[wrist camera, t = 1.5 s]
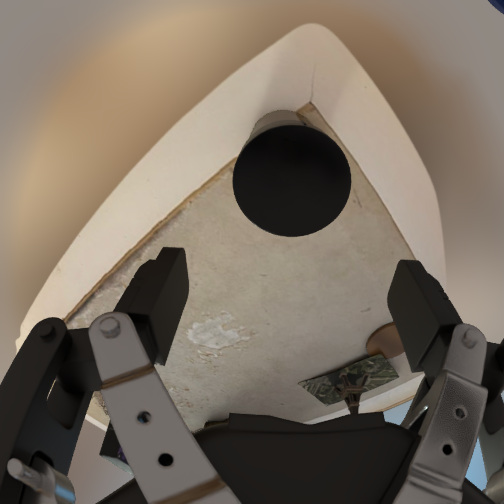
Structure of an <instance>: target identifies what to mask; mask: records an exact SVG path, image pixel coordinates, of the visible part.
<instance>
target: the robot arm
mask: <svg viewBox="0 0 504 504" xmlns="http://www.w3.org/2000/svg"><path fill="white" fill-rule="evenodd" d="M503 1H504V0H503ZM188 294H189V279H188V271H187V263H186V254H185V250H184V248H177V247H163V248H162V250H161V251H160V253H159V255H158V256H157V258H156V260H151V259H149V260H148V261H147V262H145V263H144V264H143V265H141V266H140V267H139V269H138V270H137V272H136V273H135V275H134V278H132V280H131V282H130V283H129V286H128V287H127V288H126V290H125V292H124V293H123V295H122V297H121V298H120V300H119V302H118V303H117V305H116V307H115V309H114V310H113V312H108V313H104V314H102V315H100V316H98V317H97V318H96V319H95V320H94V321H93V322H92V323H91V325H90V327H89V328H80V329H69V330H68V329H67V327H66V325H65V323H64V321H63V320H61V319H60V318H56V317H50V318H46V319H44V320H42V321H40V322H38V323H37V324H36V325H35V326H34V327H33V329H32V330H31V332H30V333H29V335H28V337H27V338H26V340H25V341H24V343H23V345H22V346H21V348H20V350H19V352H18V353H17V355H16V357H15V359H14V360H13V362H12V364H11V366H10V368H9V370H8V372H7V373H6V375H5V377H4V379H3V381H2V383H1V385H0V504H75V501H76V498H75V492H74V487H73V485H72V483H71V481H70V480H69V478H68V477H67V475H68V471H69V468H70V464H71V460H72V457H73V453H74V450H75V447H76V443H77V440H78V436H79V434H80V431H81V427H82V424H83V421H84V418H85V415H86V412H87V410H88V407H89V404H90V401H91V398H92V395H93V393H94V391H101V394H102V397H103V400H104V403H105V406H106V409H107V412H108V414H109V417H110V420H111V423H112V425H113V428H114V431H115V433H116V436H117V438H118V441H119V443H120V445H121V448H122V450H123V453H124V455H125V457H126V459H127V462H128V464H129V466H130V468H131V470H132V472H133V474H134V478H133V479H132V480H130V481H129V482H127V483H126V484H125V485H123V486H122V487H120V488H119V489H117V490H116V491H114V492H113V493H111V494H110V495H108V496H107V497H105V498H104V499H103V500H101V501H99V502H98V503H96V504H504V403H503V400H502V397H501V393H502V391H503V390H504V339H503V340H502V342H501V343H500V344H496V343H491V342H487V341H486V338H485V336H484V335H483V333H482V332H481V331H480V330H479V329H478V328H476V327H475V326H472V325H470V324H465V323H463V322H462V320H461V318H460V316H459V315H458V313H457V311H456V309H455V308H454V306H453V304H452V303H451V301H450V300H449V298H448V296H447V294H446V293H445V292H444V290H443V288H442V286H441V285H440V283H439V282H438V281H437V280H436V279H435V278H434V277H433V276H431V275H430V274H429V273H427V271H426V270H425V268H424V267H423V265H422V264H421V262H420V261H418V260H400V261H399V262H398V265H397V268H396V271H395V274H394V277H393V280H392V283H391V286H390V289H389V292H388V297H387V303H388V308H389V310H390V313H391V316H392V318H393V321H394V323H395V326H396V328H397V331H398V334H399V337H400V339H401V342H402V345H403V348H404V350H405V353H406V356H407V359H408V362H409V365H410V368H411V371H412V373H414V372H423V371H424V373H425V376H424V378H423V379H422V381H421V383H420V385H419V388H418V390H417V392H416V395H415V397H414V399H413V402H412V404H411V406H410V408H409V410H408V412H407V414H406V417H405V418H404V420H403V421H402V423H401V424H400V425H397V424H394V423H390V422H385V419H384V414H383V411H381V412H372V413H360V414H348V415H345V416H341V417H338V418H335V419H331V420H327V421H324V422H320V423H316V424H303V423H299V422H294V421H290V420H286V419H282V418H278V417H274V416H270V415H253V414H239V413H229V420H228V423H221V424H217V425H213V426H209V427H207V428H204V429H201V430H199V431H197V432H195V433H193V434H192V433H191V432H190V430H189V428H188V427H187V425H186V423H185V422H184V420H183V418H182V417H181V415H180V413H179V411H178V410H177V408H176V406H175V404H174V402H173V401H172V399H171V397H170V395H169V393H168V391H167V390H166V388H165V386H164V384H163V382H162V380H161V378H160V376H159V374H158V372H157V370H156V369H155V367H154V364H156V365H163V366H165V363H166V360H167V357H168V354H169V351H170V348H171V345H172V342H173V339H174V336H175V333H176V330H177V327H178V324H179V321H180V319H181V316H182V313H183V310H184V307H185V304H186V301H187V298H188ZM54 380H56V381H55V383H54ZM53 383H54V385H53ZM52 385H53V388H52V390H51V392H50V389H51V387H52ZM49 392H50V395H49V397H48V399H47V396H48V394H49ZM477 438H479V442H480V446H481V451H482V456H483V460H484V465H485V471H486V476H487V481H488V482H487V485H486V488H485V489H484V490H482V491H481V490H480V489H478V488H477V487H476V486H475V485H474V484H472V483H471V482H470V481H469V480H468V479H467V478H465V475H466V472H467V469H468V467H469V464H470V461H471V458H472V455H473V452H474V448H475V445H476V442H477Z"/></svg>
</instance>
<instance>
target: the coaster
mask: <svg viewBox="0 0 504 504" xmlns="http://www.w3.org/2000/svg"><path fill="white" fill-rule="evenodd" d="M366 348H367V352H368V354H369V355H370V356H371V357H373V356H376V355H379V354H382V356H383V357H384V358H385V359H389V358H393V357H396V356H398V355H400V354H402V353H403V352H405V350H404V348H403V345H402V342H401V339H400V337H399V334H398V331H397V328H396V326H395V323H394V322H392V323H389V324H386V325H384V326H382V327H380V328H379V329H377V330H376V331H375V332H374V333H373V334H372V335H371V336H370V337H369V339H368V341H367V345H366Z"/></svg>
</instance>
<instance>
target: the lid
mask: <svg viewBox="0 0 504 504" xmlns="http://www.w3.org/2000/svg"><path fill="white" fill-rule="evenodd" d="M233 190H234V195H235V198H236V201H237V203H238V205H239V207H240V209H241V210H242V212H243V213H244V215H245V216H246V217H247V218H248V219H249V220H250V221H251V222H252V223H253V224H255V225H256V226H258V227H259V228H261V229H263V230H265V231H267V232H269V233H272V234H275V235H279V236H286V237H297V236H304V235H309V234H312V233H315V232H317V231H319V230H321V229H323V228H324V227H326V226H328V225H329V224H330V223H331V222H333V221H334V220H335V219H336V218H337V217H338V215H339V214H340V213H341V211H342V210H343V208H344V207H345V205H346V203H347V200H348V198H349V194H350V190H351V172H350V167H349V164H348V161H347V159H346V156H345V154H344V153H343V151H342V150H341V148H340V147H339V146H338V145H337V144H336V142H335V141H334V140H332V139H331V138H330V137H329V136H328V135H327V134H326V133H324V132H323V131H322V130H321V129H319V128H317V127H316V126H314V125H312V124H309V123H307V122H304V121H303V120H301V121H298V120H280V121H276V122H272V123H270V124H267V125H265V126H263V127H262V128H260V129H259V130H257V131H256V132H255V133H254V134H252V135H251V136H250V137H249V139H248V140H247V141H246V143H245V144H244V146H243V148H242V150H241V152H240V154H239V156H238V159H237V161H236V164H235V167H234V171H233Z"/></svg>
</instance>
